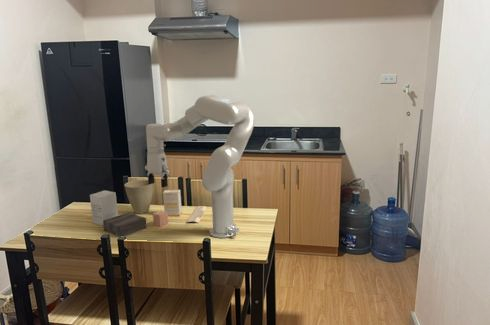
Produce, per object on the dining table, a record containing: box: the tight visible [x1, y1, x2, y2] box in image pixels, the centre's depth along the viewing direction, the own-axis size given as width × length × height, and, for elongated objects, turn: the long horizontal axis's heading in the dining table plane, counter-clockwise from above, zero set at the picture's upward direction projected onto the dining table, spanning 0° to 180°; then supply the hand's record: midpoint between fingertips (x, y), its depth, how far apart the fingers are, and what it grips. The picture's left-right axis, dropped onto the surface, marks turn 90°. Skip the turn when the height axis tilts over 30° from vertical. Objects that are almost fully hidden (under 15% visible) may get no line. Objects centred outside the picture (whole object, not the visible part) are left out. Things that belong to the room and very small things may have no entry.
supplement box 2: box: [162, 189, 183, 217], centre depth 195 cm, size 8×5×13 cm, turn 84°
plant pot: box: [124, 179, 154, 215], centre depth 200 cm, size 15×15×16 cm
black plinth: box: [102, 211, 147, 237], centre depth 177 cm, size 14×14×5 cm
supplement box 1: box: [89, 190, 119, 227], centre depth 187 cm, size 9×9×15 cm
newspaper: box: [185, 205, 207, 224], centre depth 195 cm, size 24×7×2 cm, turn 175°
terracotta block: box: [152, 210, 169, 228], centre depth 182 cm, size 5×5×6 cm
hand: (158, 185), depth 179 cm, fingers open, 9 cm apart
